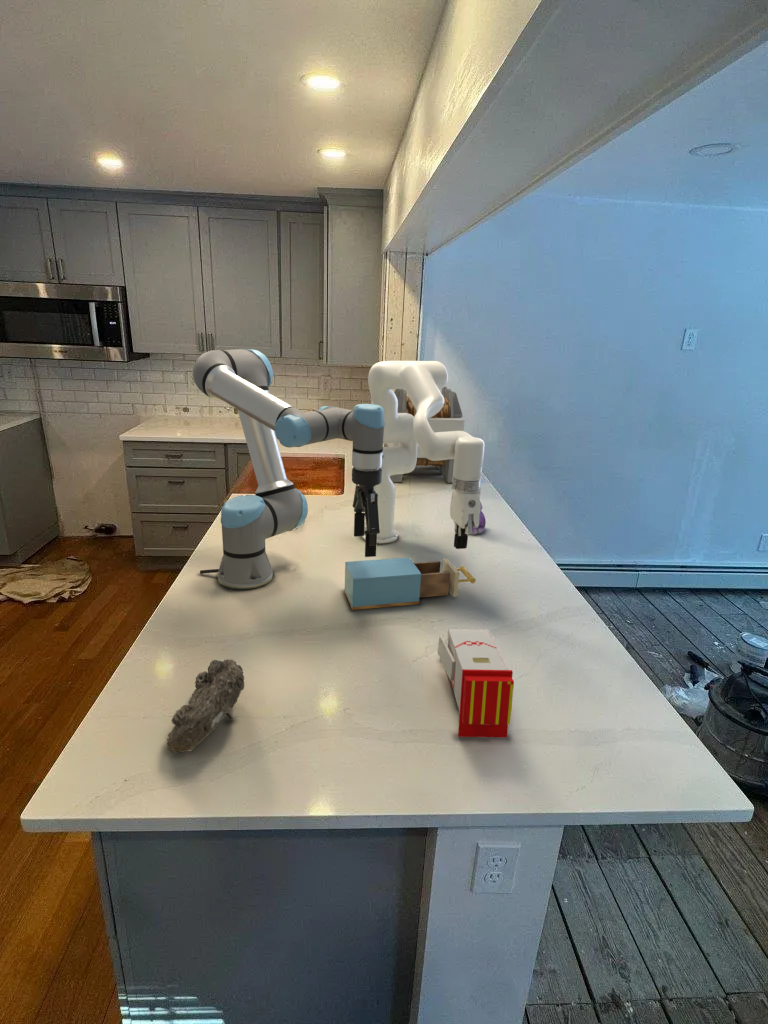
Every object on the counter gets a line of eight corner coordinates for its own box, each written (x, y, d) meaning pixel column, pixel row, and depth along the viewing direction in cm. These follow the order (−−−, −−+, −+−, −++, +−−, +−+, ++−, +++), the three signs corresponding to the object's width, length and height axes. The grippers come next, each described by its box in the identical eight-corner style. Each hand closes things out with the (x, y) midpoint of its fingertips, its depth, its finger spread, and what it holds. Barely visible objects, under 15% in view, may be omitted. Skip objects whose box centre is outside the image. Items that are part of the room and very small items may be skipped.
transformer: (382, 463, 289) (386, 382, 275) (445, 464, 293) (451, 384, 279) (390, 482, 257) (394, 392, 243) (460, 483, 261) (468, 394, 247)
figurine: (471, 536, 200) (475, 496, 195) (454, 527, 208) (458, 488, 203) (492, 533, 204) (497, 493, 199) (475, 523, 212) (479, 485, 207)
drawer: (462, 579, 166) (465, 557, 164) (475, 594, 158) (478, 571, 155) (387, 585, 160) (389, 562, 158) (397, 601, 152) (398, 577, 149)
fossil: (192, 660, 117) (244, 628, 112) (224, 691, 120) (276, 661, 115) (142, 746, 98) (202, 712, 93) (182, 779, 101) (242, 748, 96)
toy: (488, 613, 130) (523, 677, 101) (484, 667, 133) (517, 744, 104) (435, 612, 130) (455, 676, 101) (432, 666, 133) (451, 743, 103)
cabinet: (407, 585, 163) (409, 557, 160) (419, 603, 153) (421, 573, 150) (344, 591, 158) (345, 561, 155) (352, 610, 148) (353, 579, 145)
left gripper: (395, 481, 131) (390, 564, 138) (370, 454, 154) (367, 527, 161) (363, 482, 129) (360, 566, 137) (343, 455, 152) (341, 528, 159)
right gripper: (491, 492, 144) (483, 557, 151) (468, 475, 158) (462, 536, 164) (463, 493, 142) (457, 559, 149) (443, 476, 156) (438, 538, 162)
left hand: (364, 545), depth 149 cm, fingers open, 13 cm apart
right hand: (460, 547), depth 156 cm, fingers closed
